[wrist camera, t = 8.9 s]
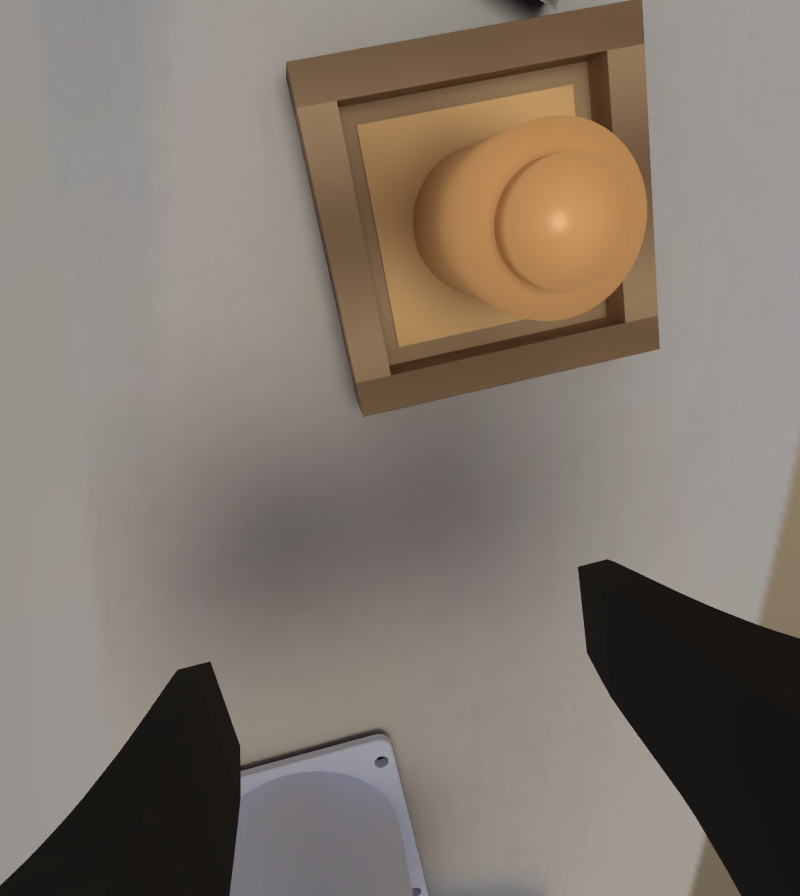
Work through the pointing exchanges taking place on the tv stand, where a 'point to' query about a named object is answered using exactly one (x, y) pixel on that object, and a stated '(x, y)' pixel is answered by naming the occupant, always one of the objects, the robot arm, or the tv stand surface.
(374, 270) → the tray
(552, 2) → the wooden post with brackets
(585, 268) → the wooden dowel peg
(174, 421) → the tv stand surface
